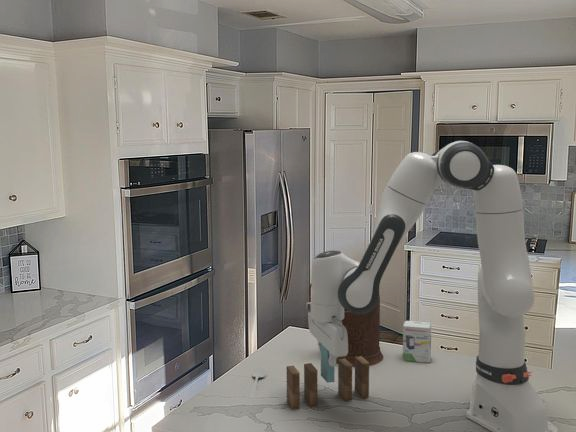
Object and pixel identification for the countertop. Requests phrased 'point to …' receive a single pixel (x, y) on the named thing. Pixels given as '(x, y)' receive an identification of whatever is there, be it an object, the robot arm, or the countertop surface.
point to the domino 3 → (326, 366)
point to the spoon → (257, 372)
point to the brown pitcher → (362, 335)
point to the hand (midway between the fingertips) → (327, 360)
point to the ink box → (416, 341)
